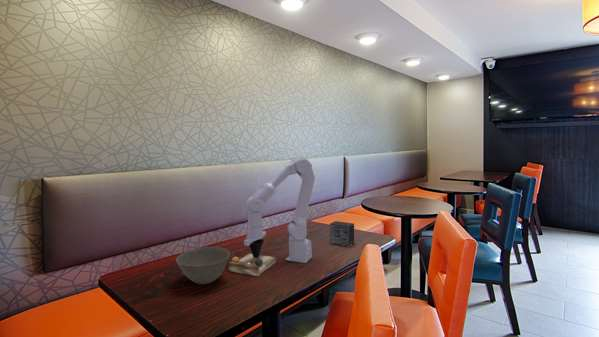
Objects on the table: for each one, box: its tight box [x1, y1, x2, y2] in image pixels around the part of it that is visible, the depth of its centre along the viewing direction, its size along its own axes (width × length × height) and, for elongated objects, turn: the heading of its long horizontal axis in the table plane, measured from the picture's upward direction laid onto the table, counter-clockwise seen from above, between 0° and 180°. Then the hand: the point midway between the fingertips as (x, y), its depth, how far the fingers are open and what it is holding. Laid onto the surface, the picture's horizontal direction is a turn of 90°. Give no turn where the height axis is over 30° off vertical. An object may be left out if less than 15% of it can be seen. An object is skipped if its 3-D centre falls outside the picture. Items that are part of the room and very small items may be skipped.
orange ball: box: [231, 256, 240, 263], centre depth 127 cm, size 3×3×3 cm
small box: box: [329, 220, 355, 247], centre depth 156 cm, size 11×6×10 cm, turn 58°
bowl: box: [175, 246, 231, 285], centre depth 116 cm, size 19×19×10 cm
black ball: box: [255, 258, 263, 266], centre depth 125 cm, size 3×3×3 cm
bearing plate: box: [228, 253, 277, 277], centre depth 129 cm, size 13×15×4 cm
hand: (256, 257), depth 132 cm, fingers closed
